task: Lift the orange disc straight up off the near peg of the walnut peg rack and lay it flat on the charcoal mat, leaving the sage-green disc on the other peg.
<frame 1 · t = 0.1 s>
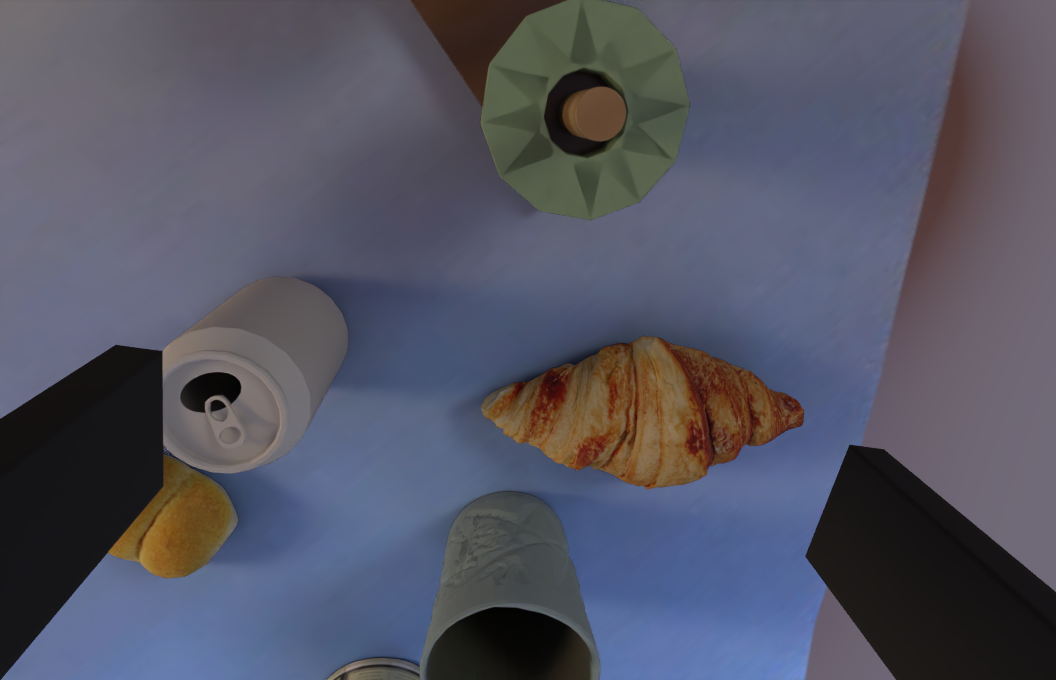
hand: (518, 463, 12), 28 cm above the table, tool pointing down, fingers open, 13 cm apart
can: (291, 329, 40), on the table
croissant: (634, 392, 43), on the table
green disc: (579, 114, 29), point 7 cm above the table, touching peg rack
grey embossed cup: (502, 538, 46), on the table
bread roll: (175, 503, 43), on the table
peg rack: (499, 18, 34), on the table
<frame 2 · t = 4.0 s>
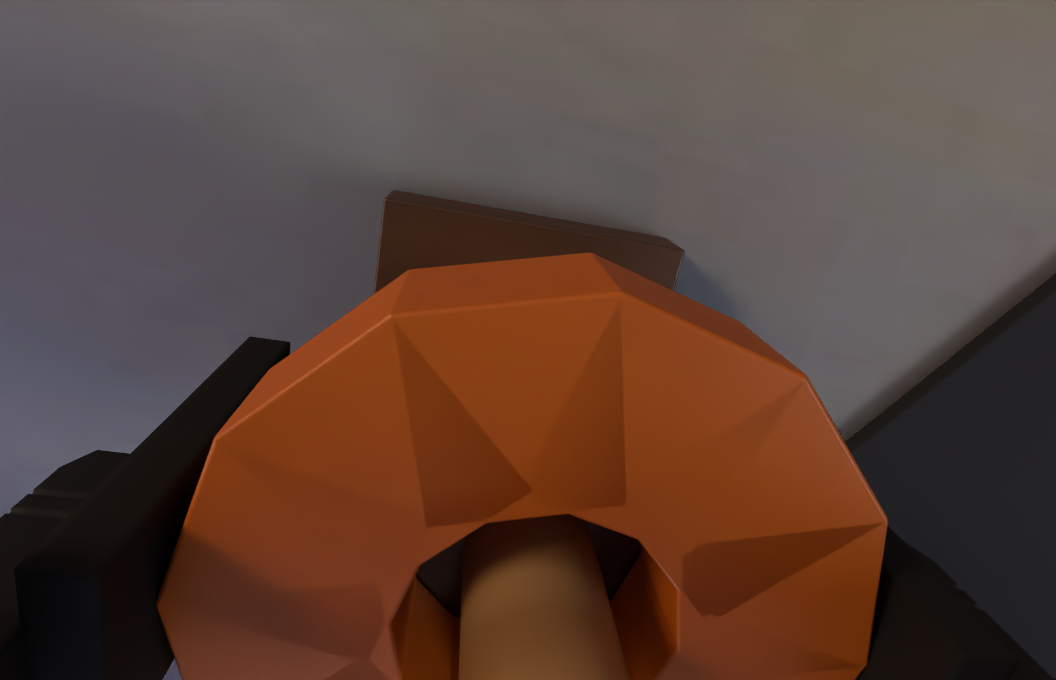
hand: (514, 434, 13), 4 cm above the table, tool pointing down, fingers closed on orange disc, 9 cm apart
orange disc: (527, 538, 10), point 8 cm above the table, touching gripper, peg rack
peg rack: (472, 544, 19), on the table
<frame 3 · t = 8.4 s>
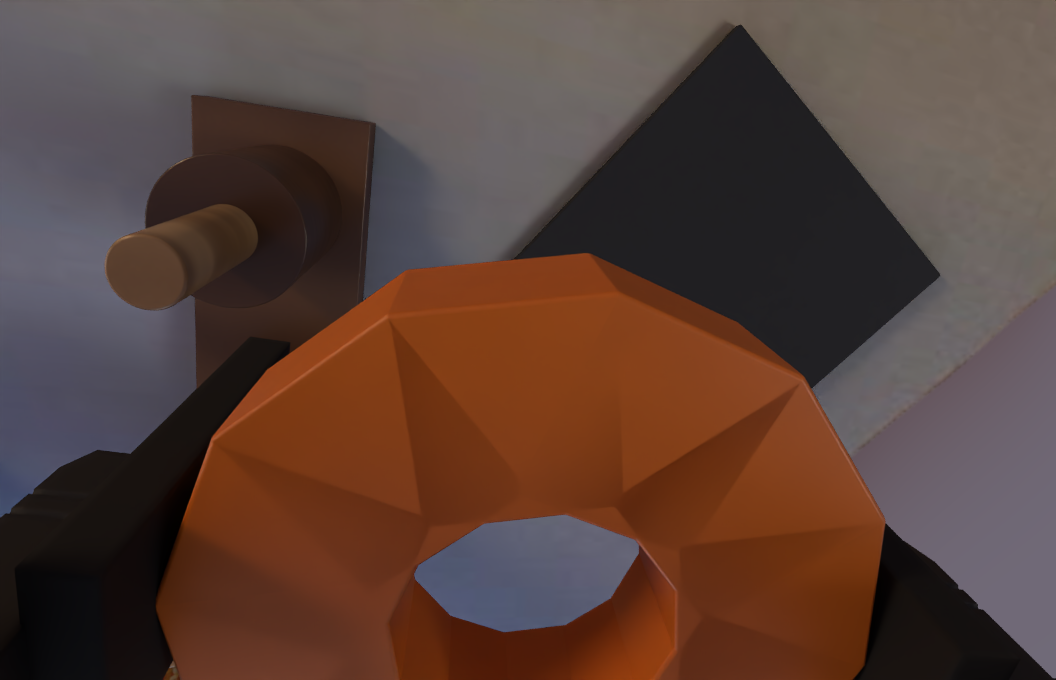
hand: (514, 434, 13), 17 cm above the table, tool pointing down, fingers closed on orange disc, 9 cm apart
mat: (684, 310, 31), on the table
orange disc: (525, 539, 10), point 21 cm above the table, touching gripper
peg rack: (285, 330, 30), on the table
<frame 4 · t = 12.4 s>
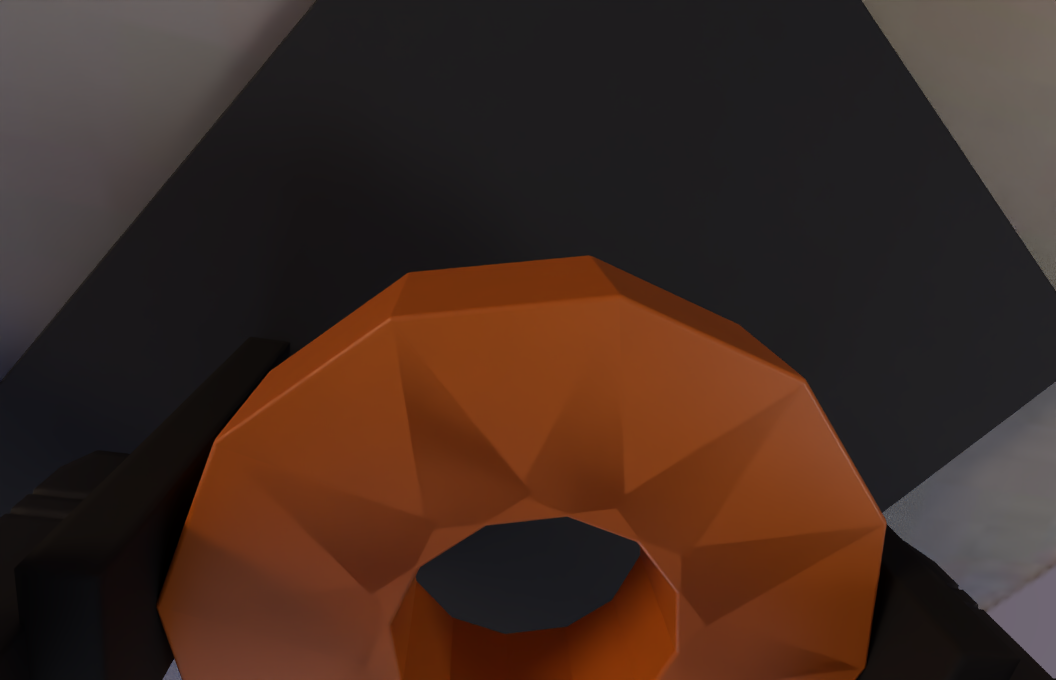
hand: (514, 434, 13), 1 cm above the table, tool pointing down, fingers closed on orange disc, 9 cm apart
mat: (516, 413, 14), on the table
orange disc: (526, 540, 10), point 4 cm above the table, touching gripper
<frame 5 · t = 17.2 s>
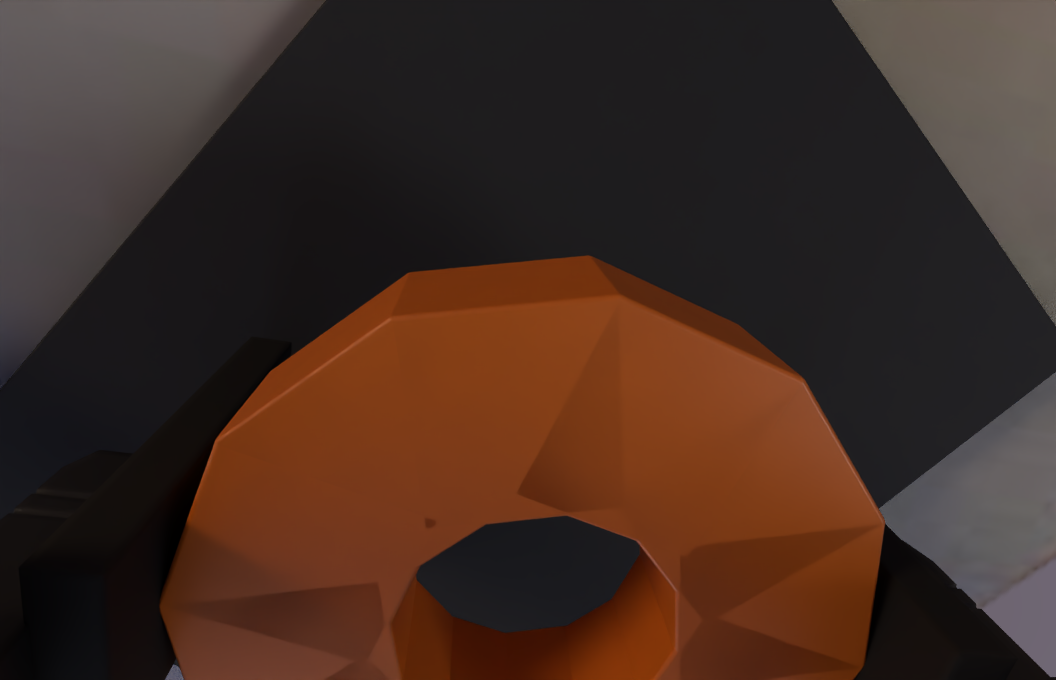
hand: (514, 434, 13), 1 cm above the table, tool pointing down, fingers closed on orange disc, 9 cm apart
mat: (509, 418, 14), on the table
orange disc: (526, 539, 10), point 4 cm above the table, touching gripper
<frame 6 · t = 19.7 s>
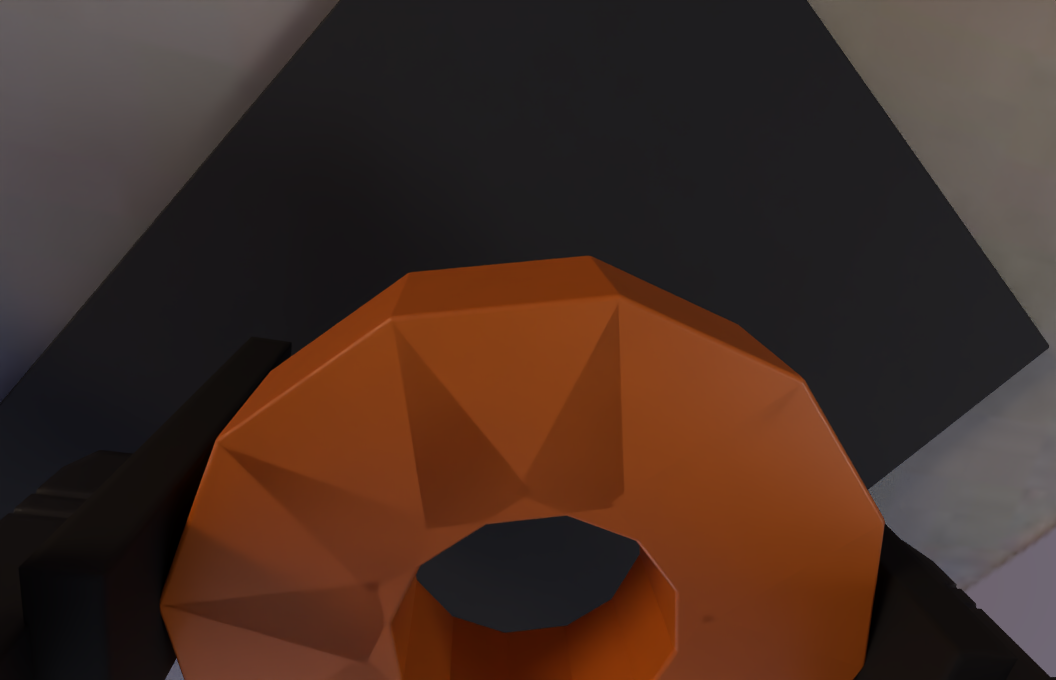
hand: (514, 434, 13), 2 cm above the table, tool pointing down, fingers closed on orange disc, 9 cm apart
mat: (507, 407, 15), on the table
orange disc: (526, 539, 10), point 5 cm above the table, touching gripper
when the fingers open (2 cm above the table, at t = 22.0 s): orange disc stays where it is, point 1 cm above the table.
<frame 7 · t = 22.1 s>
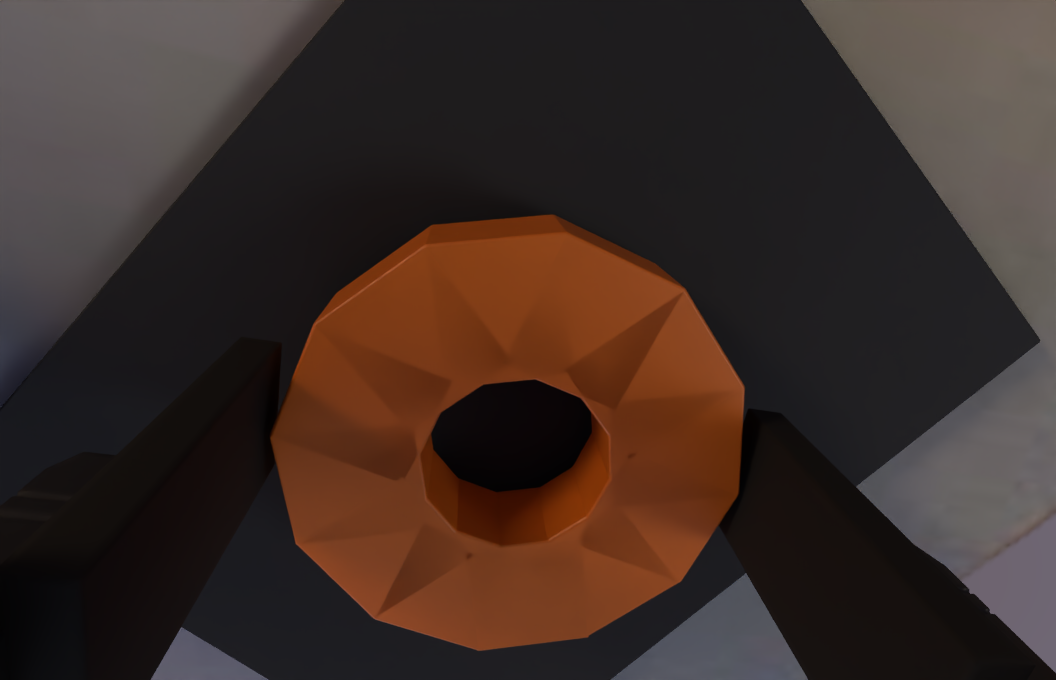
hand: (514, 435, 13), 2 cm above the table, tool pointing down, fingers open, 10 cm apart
mat: (507, 399, 15), on the table
orange disc: (511, 420, 14), point 1 cm above the table
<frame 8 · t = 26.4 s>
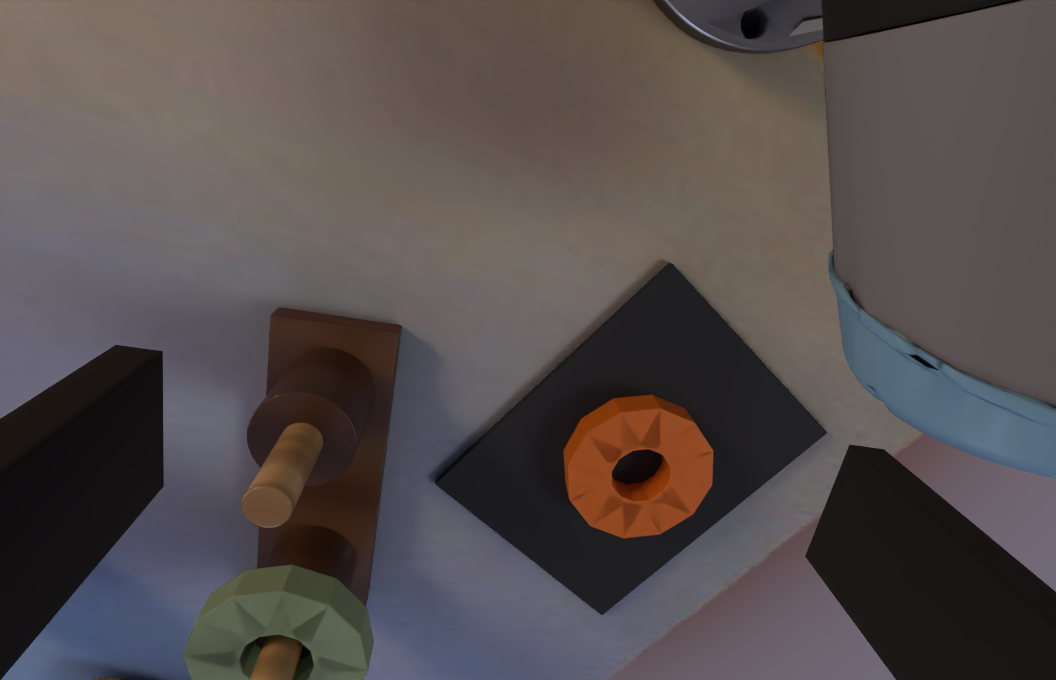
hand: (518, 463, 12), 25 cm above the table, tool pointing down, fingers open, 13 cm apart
mat: (631, 454, 41), on the table
orange disc: (633, 459, 40), resting on mat
green disc: (287, 633, 34), point 7 cm above the table, touching peg rack
peg rack: (327, 466, 39), on the table
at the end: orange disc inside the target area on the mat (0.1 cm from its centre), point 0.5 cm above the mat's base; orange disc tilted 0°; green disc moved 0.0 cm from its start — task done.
